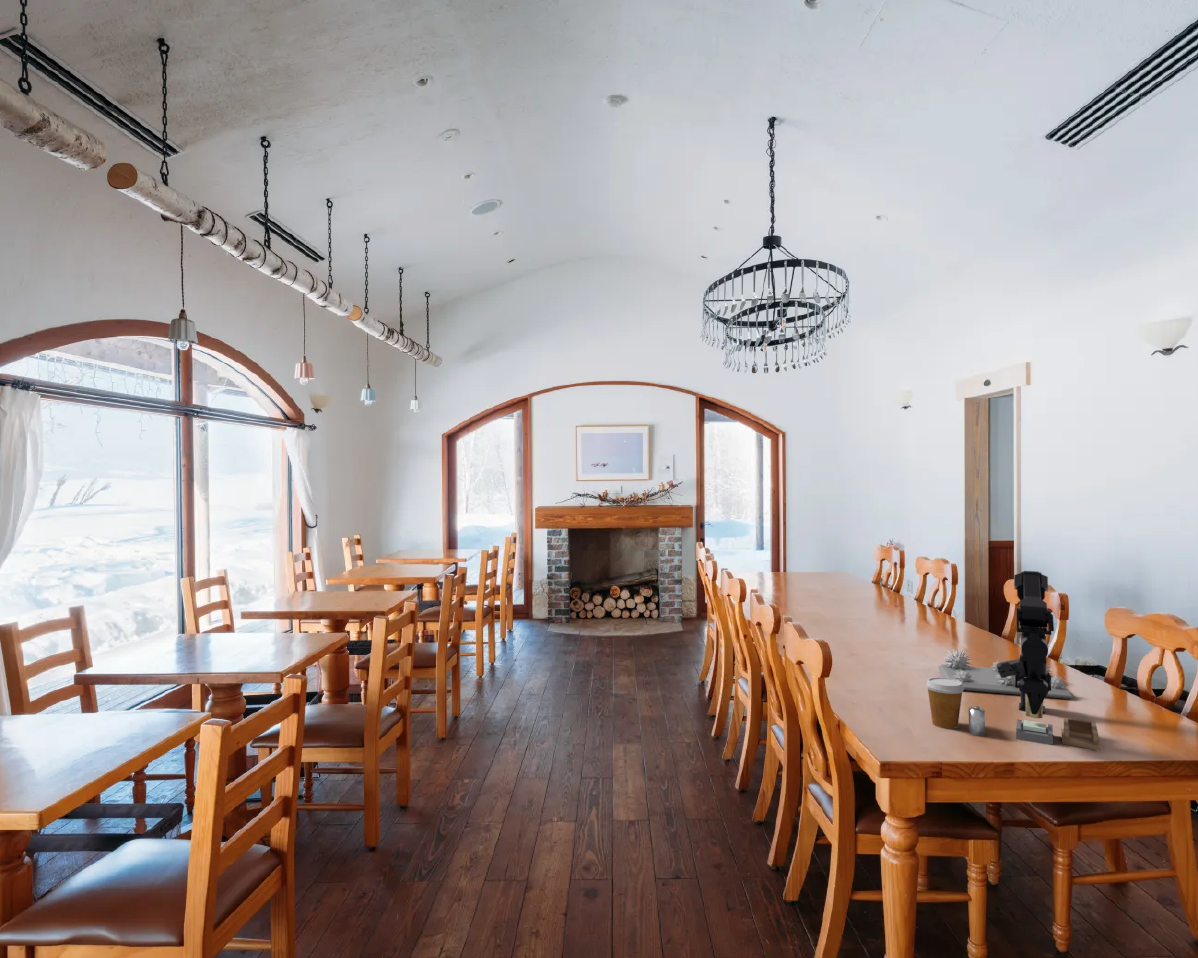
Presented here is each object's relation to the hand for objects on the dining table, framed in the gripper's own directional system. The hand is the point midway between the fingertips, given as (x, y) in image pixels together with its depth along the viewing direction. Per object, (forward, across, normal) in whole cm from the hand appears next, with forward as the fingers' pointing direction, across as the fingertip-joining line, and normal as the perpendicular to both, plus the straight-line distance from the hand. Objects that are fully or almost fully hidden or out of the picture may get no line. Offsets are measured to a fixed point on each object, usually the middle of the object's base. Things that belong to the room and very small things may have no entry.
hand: (1034, 711), depth 183 cm
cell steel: (+7, +5, -13) cm, 15 cm away
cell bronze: (+1, 0, 0) cm, 1 cm away
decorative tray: (+7, -50, -10) cm, 52 cm away
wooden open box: (+7, -3, +10) cm, 12 cm away
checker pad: (+4, 0, 0) cm, 4 cm away
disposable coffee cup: (+7, +2, -21) cm, 22 cm away
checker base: (+7, 0, 0) cm, 7 cm away
